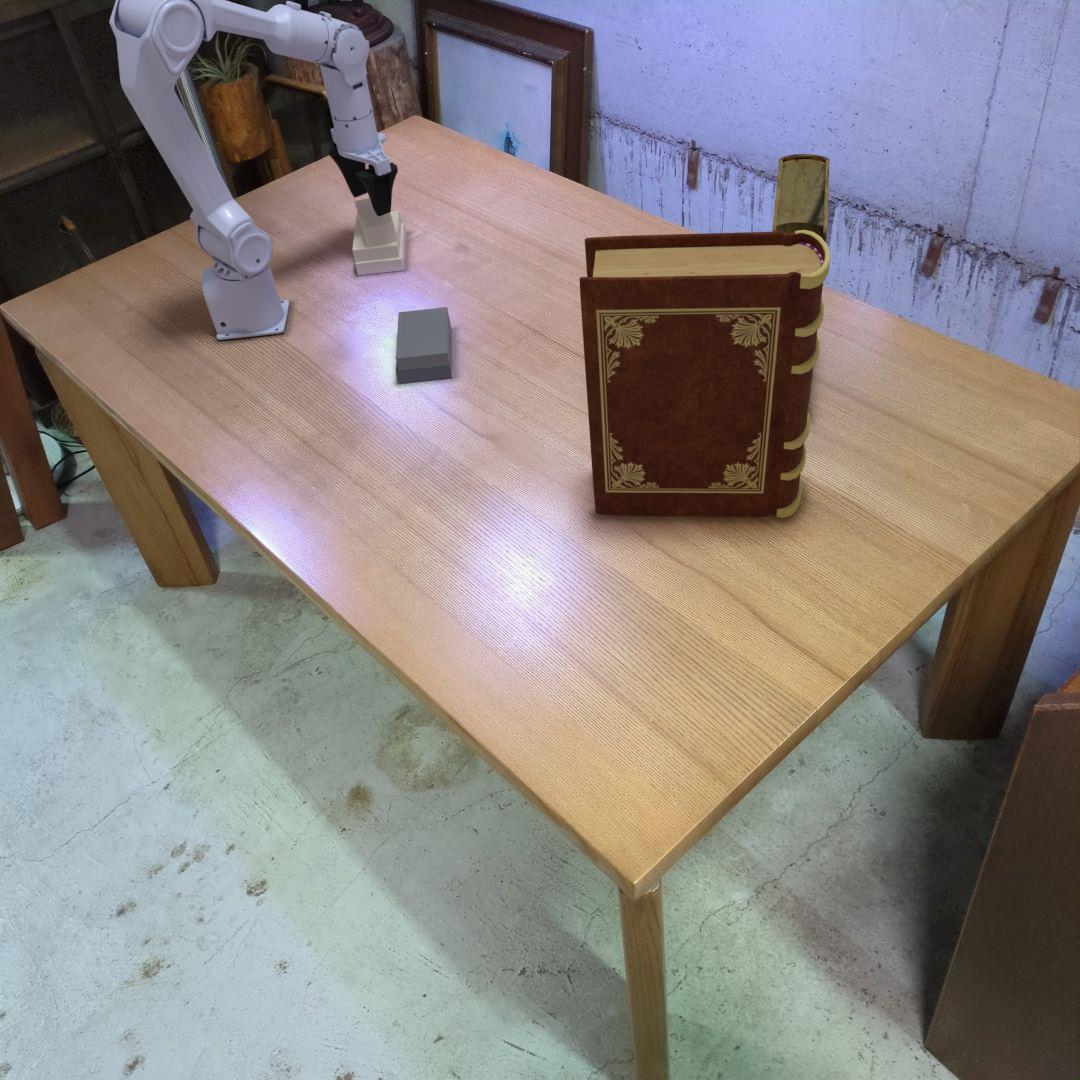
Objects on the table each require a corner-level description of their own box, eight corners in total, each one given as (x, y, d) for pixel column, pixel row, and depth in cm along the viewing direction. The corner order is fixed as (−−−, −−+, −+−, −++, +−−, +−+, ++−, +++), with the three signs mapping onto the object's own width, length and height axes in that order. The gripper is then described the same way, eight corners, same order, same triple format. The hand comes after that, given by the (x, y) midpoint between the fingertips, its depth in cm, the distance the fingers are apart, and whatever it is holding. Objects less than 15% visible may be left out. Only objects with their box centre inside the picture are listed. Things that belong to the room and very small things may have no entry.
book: (765, 338, 137) (779, 153, 119) (809, 340, 136) (829, 154, 118) (758, 418, 126) (772, 227, 108) (805, 421, 125) (827, 228, 107)
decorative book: (798, 469, 119) (826, 227, 98) (803, 519, 114) (834, 274, 92) (599, 469, 122) (584, 234, 101) (595, 517, 116) (578, 280, 95)
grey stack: (398, 384, 137) (392, 358, 134) (400, 335, 145) (395, 310, 142) (451, 378, 137) (447, 352, 134) (451, 330, 145) (447, 305, 142)
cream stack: (357, 275, 157) (351, 251, 154) (361, 238, 165) (356, 214, 162) (404, 270, 157) (399, 246, 154) (406, 233, 165) (401, 209, 162)
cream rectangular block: (367, 247, 155) (363, 228, 152) (358, 219, 161) (354, 200, 159) (397, 241, 155) (393, 222, 153) (387, 213, 161) (383, 194, 159)
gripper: (402, 119, 142) (419, 212, 152) (354, 88, 151) (373, 177, 161) (355, 136, 140) (375, 229, 149) (309, 103, 149) (331, 193, 158)
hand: (371, 203), depth 155 cm, fingers open, 7 cm apart
